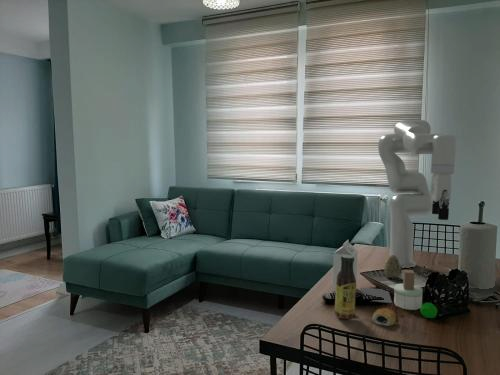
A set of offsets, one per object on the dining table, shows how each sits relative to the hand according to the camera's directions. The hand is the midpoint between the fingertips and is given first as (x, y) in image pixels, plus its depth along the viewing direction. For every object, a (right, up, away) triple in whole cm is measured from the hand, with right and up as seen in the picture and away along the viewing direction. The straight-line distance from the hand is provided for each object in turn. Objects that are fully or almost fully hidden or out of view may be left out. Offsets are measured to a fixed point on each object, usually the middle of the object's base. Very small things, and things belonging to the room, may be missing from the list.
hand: (439, 216), depth 147 cm
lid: (-15, -25, -9) cm, 30 cm away
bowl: (-15, -30, -8) cm, 34 cm away
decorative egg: (-11, -27, +17) cm, 33 cm away
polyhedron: (-12, -31, -17) cm, 37 cm away
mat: (-23, -29, 0) cm, 37 cm away
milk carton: (-33, -28, +5) cm, 44 cm away
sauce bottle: (-38, -31, -15) cm, 51 cm away
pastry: (-26, -32, -18) cm, 45 cm away
